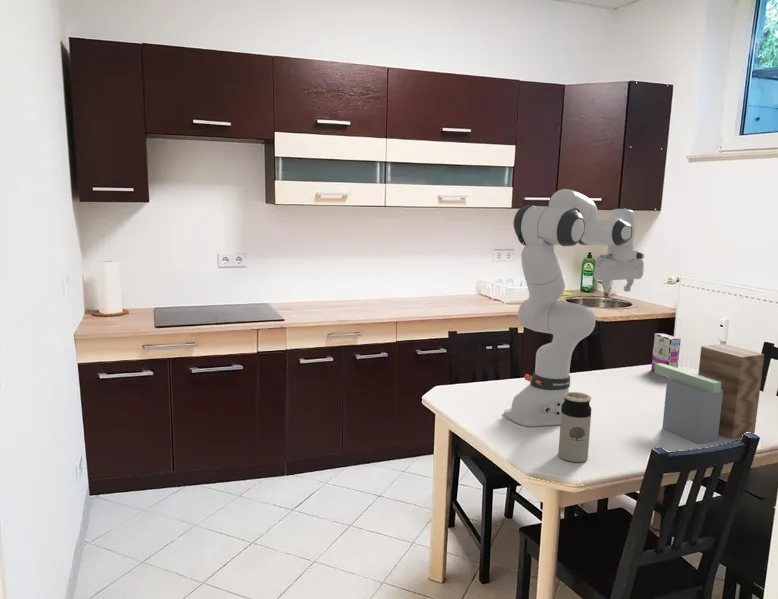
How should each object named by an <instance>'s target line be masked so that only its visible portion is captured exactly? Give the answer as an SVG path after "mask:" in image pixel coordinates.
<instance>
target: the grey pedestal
mask: <svg viewBox="0 0 778 599" xmlns="http://www.w3.org/2000/svg"><path fill="white" fill-rule="evenodd" d="M722 397H723V390H722V389H721V391H720V392H716V393H712V392H709V391H706V390H703V389H700V388H697V387H694V386H691V385H688V384H686V383H683V382H680V381H677V380H674V379H671V378H670V379H667V380H666V387H665V399H664V408H663V419H662V427H661V428H662V429H663V430H666V431H668V432H671V433H673V434H675V435H677V436H679V437H682V438H684V439H686V440H688V441H690V442H693V443H696V444H697V445H701V444H706V443H710V442H717V441H718V440H719V438H718V437H719V434H718V432H719V423H720V414H721V405H722Z"/></svg>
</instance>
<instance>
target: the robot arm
mask: <svg viewBox="0 0 778 599" xmlns="http://www.w3.org/2000/svg"><path fill="white" fill-rule="evenodd" d="M598 213H599V212H598V207H597V205H596V203H595V202H594V201H593V200H592V199H590V198H589V197H588V196H587V195H584V194H582V193H581V192H578V191H576V190H573V189H568V188H563V189H559V190H557V191H556V192H554V193H553V194H552V195H551V197H550V199H549V202H548V206H547V205H546V206H544V205H543V206H542V205H541V206H540V205H536V206H535V205H533V204H532V205H530V204H529V205H525V206H522V207H519V209H518V210H517V212H516V213H515V215H514V217H513V218H514V219H513V223H512V224H513V229H514V233H515V235H516V237H517V240H518V242H519V243H520V244H521V245H523V246H524V247H523V248H522V251H521V255H520V256H521V257H520V258H521V259H520V260H521V267H522V272H523V276H524V279H525V284H526V287H527V290H528V298H527V299H526V300H523V302H522V303H521V304H520V305H519V307H518V311H517V318H518V321H519V323H520V326H522V327H524V328H527V329H528V330H532V331H533V332H539V333H543V334H544V333H545V334H551V335H552V340H551V342H549V343H545V344H543V345H542V346H540V347H539V348H538V349H537V351H536V353H535V367H534V370H535V371H534V372H533V374H532V375H529V373H528V374H525V375H524V377H523V378H524V380H525V381H527V382H529V384H528V385H527V386H526V387H525V388H523V389H522V390H521V391H520V392H519V393H517V394H516V395H515V396H514V397H513V399H512V404H511V408H508V409H504V412H503V414H504V416H505V417H506V418H507V419H509V420H510V421H512V422H514V423H516V424H518V425H520V426H523V427H529V428H530V427H543V426H559V425H560V421H561V406H562V404H563V402H564V397H563V394H564V393H567V392H570V391H569V388H570V386H571V376H570V370H571V369H570V368H571V362H572V361H571V360H572V357H573V356H572V355H573V352H574V350H575V348H576V346H577V345H578V344H579V342H581V341H582V340H583V339H585V338H586V337H588V336H590V335H591V333H593V331H594V329H595V327H596V315H595V313H594V311H593V310H592V309H591V308H590V307H588V306H585V305H582V304H579V303H573V302H567V301H559V299H561V297H562V296H563V295H564V292H565V288H566V284H565V282H564V278H563V273H562V270H561V265H560V262H559V260H558V258H557V256H556V252H555V251H554V250H555V248H554V247H555V246H561V247H574V246H576V245H578V244H579V245H581V246H604V247H605V246H606V247H607V251H606V253H607V254H600V255H598V257H597V258H596V263H595V266H594V269H593V270H594V271H593V278H594V280H595V281H601V284H602V287H603V292H604V293H606V294H607V293H611V290H612V288H611V287H609V283H610V281H621V280H624V281H625V280H626V285H625V286H623V292H631V288H632V286H633V284H634V282H635V280H641V278H642V277H643V275H644V270H645V269H644V259H645V254H644V253H643V252H641V251H638V250H636V249H635V248H634V247H635V244H634V238H635V235H636V214H635V212H634V210H632V209H628V208H614V209H612V211H611V215H610V216H609V217H598Z"/></svg>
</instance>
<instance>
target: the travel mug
mask: <svg viewBox="0 0 778 599" xmlns="http://www.w3.org/2000/svg"><path fill="white" fill-rule="evenodd" d="M563 397H564V402H563V404H562V406H561V421H560V426H559V436H558V437H559V438H558V451H557V452H558V453H557V456H559V458H561V459H562V460H564V461H567V462H570V463H582V462H585V461H587V460H588V459H589V446H590V433H591V421H592V407H591V405H590V403H591V401H592V396H590V395H589V394H587V393H584V392H579V391H569V392H567V393H564V394H563Z"/></svg>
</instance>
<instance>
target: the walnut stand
mask: <svg viewBox="0 0 778 599" xmlns="http://www.w3.org/2000/svg"><path fill="white" fill-rule="evenodd" d="M764 360H765V353H760V352H756V351H752V350H749V349H745V348H739V347H738V346H737V347H736V346H732V345H728V344H725V343H720V344H710V345H704V346H703V345H701V346H700V355H699V366H698V374H697V375H700V376H704V377H707V378H710V379H713V380H716V381H719V382H721V389H722V390H723V397H722V405H721V414H720V423H719V432H718V435H721V436H723V437H726V438H728V439H730V440H735V439H739V438H743V437H742V435H743V434H744V433H746V432H751V433H755V431H756V424H757V416H758V408H759V402H760V393H761V385H762V375H763V369H764Z"/></svg>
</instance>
